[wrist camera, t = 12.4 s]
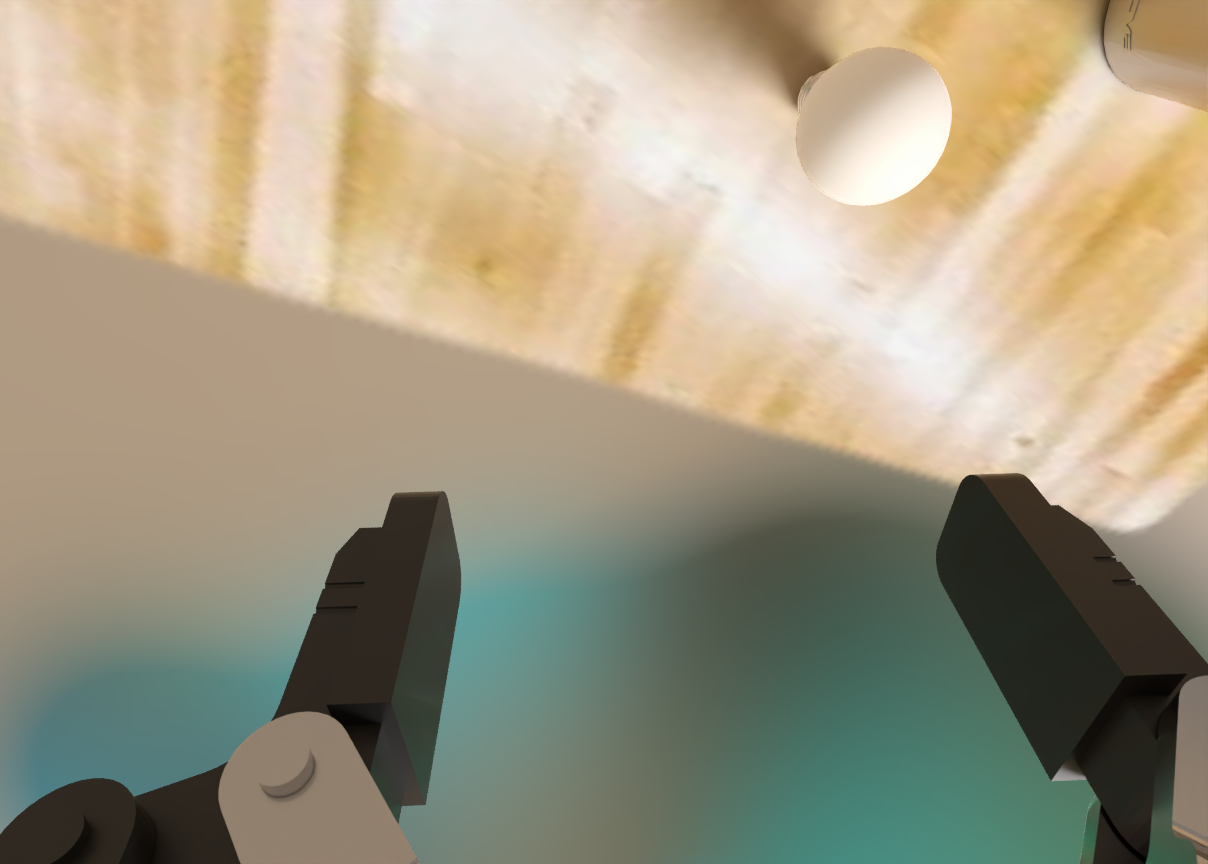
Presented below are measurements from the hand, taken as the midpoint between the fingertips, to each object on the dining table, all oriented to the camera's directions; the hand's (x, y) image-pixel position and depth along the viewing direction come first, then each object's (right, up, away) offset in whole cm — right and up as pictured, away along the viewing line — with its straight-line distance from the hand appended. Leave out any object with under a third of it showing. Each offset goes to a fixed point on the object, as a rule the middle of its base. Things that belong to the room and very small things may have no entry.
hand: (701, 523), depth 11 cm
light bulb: (+10, +20, +27) cm, 35 cm away
